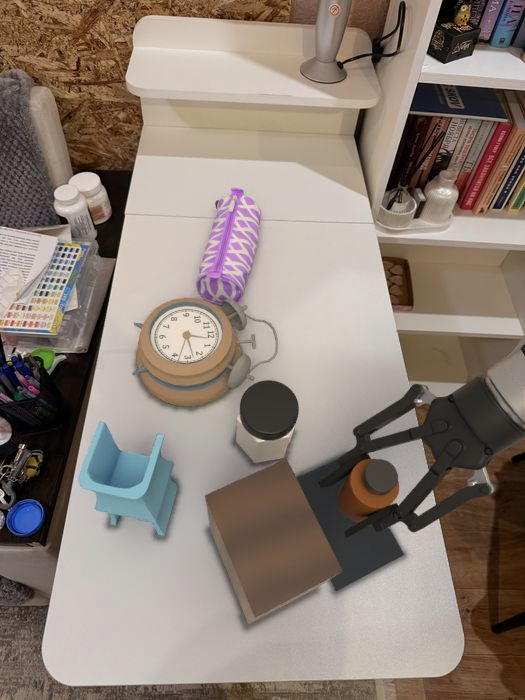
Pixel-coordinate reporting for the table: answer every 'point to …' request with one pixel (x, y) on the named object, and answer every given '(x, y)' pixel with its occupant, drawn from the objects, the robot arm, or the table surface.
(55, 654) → the table surface
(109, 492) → the blue doll chair
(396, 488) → the spice bottle
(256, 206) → the pencil case
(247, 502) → the block
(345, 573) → the mat
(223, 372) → the alarm clock
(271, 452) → the jar
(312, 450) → the table surface
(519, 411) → the robot arm
